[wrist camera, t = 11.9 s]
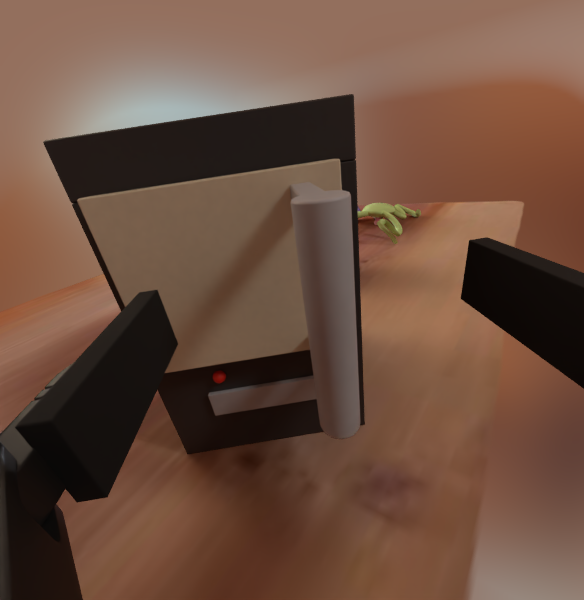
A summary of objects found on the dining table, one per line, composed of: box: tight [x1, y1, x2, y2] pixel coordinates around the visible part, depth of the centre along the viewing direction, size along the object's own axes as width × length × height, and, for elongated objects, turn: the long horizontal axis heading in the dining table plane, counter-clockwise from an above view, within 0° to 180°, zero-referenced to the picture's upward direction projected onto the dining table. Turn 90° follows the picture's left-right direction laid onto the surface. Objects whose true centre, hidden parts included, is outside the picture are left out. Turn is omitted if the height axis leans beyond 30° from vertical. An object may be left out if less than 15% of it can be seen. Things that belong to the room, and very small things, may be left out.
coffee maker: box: [43, 94, 365, 454], centre depth 22 cm, size 14×13×20 cm
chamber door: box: [77, 159, 360, 439], centre depth 12 cm, size 7×11×9 cm, turn 95°
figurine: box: [357, 203, 421, 244], centre depth 66 cm, size 18×27×6 cm
